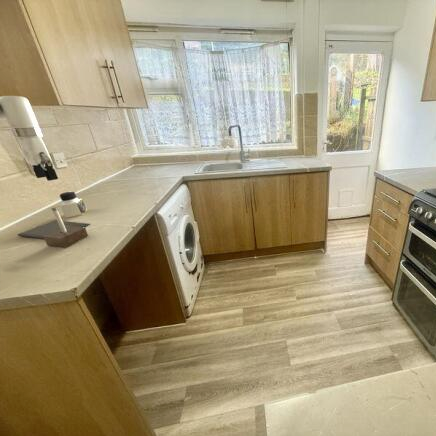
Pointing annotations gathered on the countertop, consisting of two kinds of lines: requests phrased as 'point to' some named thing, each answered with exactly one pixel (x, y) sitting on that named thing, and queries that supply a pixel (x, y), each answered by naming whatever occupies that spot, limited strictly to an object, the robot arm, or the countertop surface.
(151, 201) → the countertop surface
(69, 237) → the pen stand
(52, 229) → the plate
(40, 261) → the countertop surface
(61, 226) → the stylus
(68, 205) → the medicine bottle
